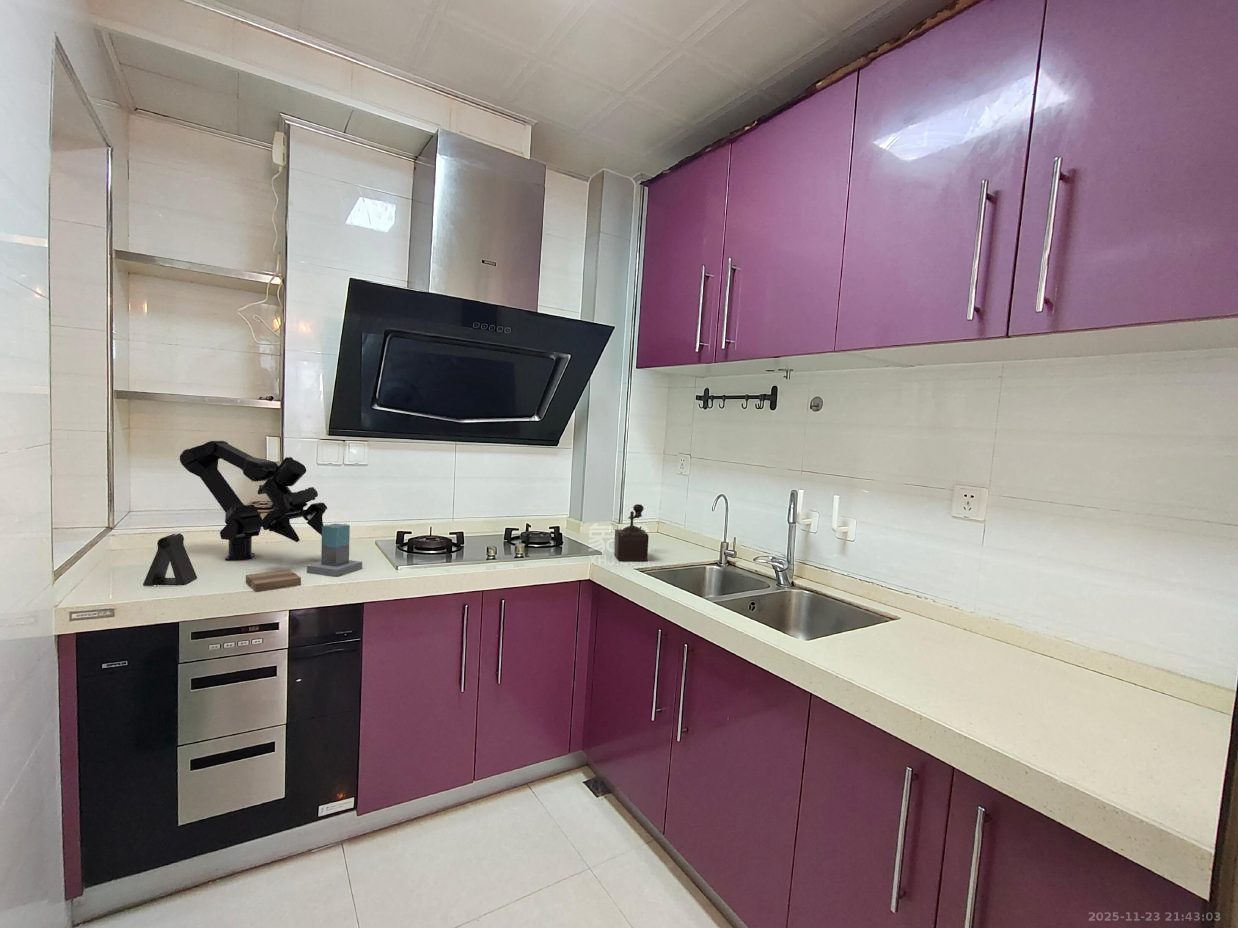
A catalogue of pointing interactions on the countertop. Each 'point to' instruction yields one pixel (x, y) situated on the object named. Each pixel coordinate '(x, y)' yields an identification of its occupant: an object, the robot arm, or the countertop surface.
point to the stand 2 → (334, 568)
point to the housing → (335, 544)
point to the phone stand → (175, 554)
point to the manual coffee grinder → (631, 540)
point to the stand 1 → (272, 580)
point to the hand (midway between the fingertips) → (311, 537)
